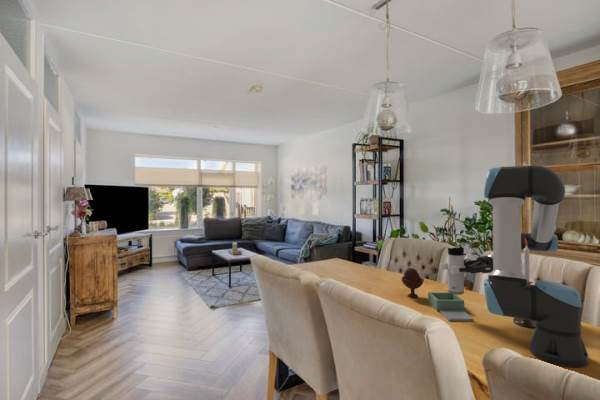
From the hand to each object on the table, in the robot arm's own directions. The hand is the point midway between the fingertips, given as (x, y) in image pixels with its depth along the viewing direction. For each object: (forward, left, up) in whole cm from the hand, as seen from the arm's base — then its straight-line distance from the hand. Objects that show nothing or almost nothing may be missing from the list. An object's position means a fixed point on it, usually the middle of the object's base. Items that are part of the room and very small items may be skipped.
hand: (446, 268), depth 138 cm
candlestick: (-5, -30, -22) cm, 37 cm away
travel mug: (+2, -5, -11) cm, 12 cm away
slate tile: (+2, -5, -21) cm, 22 cm away
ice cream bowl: (+29, +6, -22) cm, 36 cm away
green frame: (+14, -5, -21) cm, 26 cm away
